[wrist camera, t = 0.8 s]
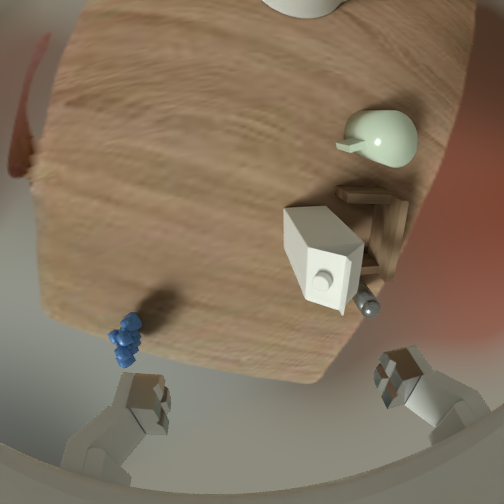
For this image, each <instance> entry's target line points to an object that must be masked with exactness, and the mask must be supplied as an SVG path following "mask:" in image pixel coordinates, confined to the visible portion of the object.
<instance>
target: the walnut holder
mask: <svg viewBox="0 0 504 504" xmlns="http://www.w3.org/2000/svg"><path fill="white" fill-rule="evenodd" d="M335 195H337V196H338V197H339V198H341V199H342V200H343V201H345V202H346V203H356V204H375V207H374V215H373V222H372V229H371V235H370V241H369V247H368V253H363V258H362V266H361V272H360V275H366V274H378V275H379V276H380V277H381V278H382V279H383V280H384V282H392V281H393V278H394V274H395V270H396V266H397V261H398V257H399V253H400V248H401V243H402V238H403V233H404V228H405V223H406V217H407V211H408V205H409V201H408V200H406V199H404V198H402V197H401V196H399V195H397V194H395V193H393V192H391V191H389V190H387V189H385V188H379V187H357V186H336V194H335Z"/></svg>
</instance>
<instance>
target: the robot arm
mask: <svg viewBox="0 0 504 504" xmlns="http://www.w3.org/2000/svg"><path fill="white" fill-rule="evenodd" d="M262 1H263V2H265V3H266V4H267V5H268V6H270V7H271V8H273V9H275V10H277V11H279V12H281V13H283V14H286V15H290V16H293V17H299V18H317V17H322V16H325V15H327V14H329V13H331V12H333V11H334V10H335V9H336V8H337V7H338V6H339V4H341V3H342V2H344V1H348V0H262ZM379 361H380V364H379V365H378V366H377V367H376V369H375V371H374V381H375V385H376V387H377V388H378V390H380V391H382V392H383V393H382V396H381V397H382V399H383V401H384V403H385V405H386V407H387V409H390V408H393V407H396V406H400V405H403V404H405V406H407V407H408V408H409V409H411V410H412V411H414V412H415V413H416V414H417V415H419V416H420V417H421V418H423V419H424V420H426V421H427V422H428V423H430V424H431V425H432V426H434V427H435V429H434V430H433V431H432V432H431V434H430V435H429V437H428V439H429V441H430V443H431V446H430V447H428V448H426V449H424V450H422V451H420V452H417V453H415V454H413V455H410V456H408V457H406V458H403V459H400V460H398V461H395V462H393V463H390V464H387V465H385V466H382V467H379V468H376V469H373V470H370V471H366V472H363V473H360V474H356V475H353V476H349V477H345V478H342V479H338V480H334V481H330V482H325V483H320V484H315V485H310V486H305V487H299V488H292V489H285V490H278V491H269V492H259V493H246V494H245V493H244V494H188V493H173V492H164V491H155V490H148V489H141V488H135V487H130V485H131V476H130V475H129V474H128V473H127V472H126V471H125V470H124V469H123V468H122V467H121V465H122V463H123V462H124V461H125V460H126V459H127V457H128V456H129V455H130V454H131V453H132V452H133V450H134V449H135V448H136V447H137V445H138V444H139V443H140V442H141V441H142V439H143V438H144V437H145V436H146V434H152V435H167V433H168V425H169V420H168V418H167V414H168V413H169V412H170V409H171V397H170V392H169V389H168V388H167V387H165V379H164V376H163V375H155V374H140V373H126V372H124V373H123V374H122V375H121V377H120V380H119V383H118V387H117V390H116V393H115V396H114V400H113V403H112V406H108V407H106V408H105V409H104V410H103V411H102V412H101V413H100V414H98V415H97V416H96V417H95V418H93V419H92V420H91V421H90V422H89V423H88V424H86V425H85V426H84V427H83V428H82V429H80V431H78V432H77V433H76V434H74V435H73V436H72V437H71V438H70V439H69V440H68V442H67V445H66V448H65V452H64V455H63V459H62V462H61V465H60V468H58V467H55V466H52V465H49V464H46V463H44V462H41V461H39V460H36V459H34V458H32V457H29V456H27V455H25V454H23V453H20V452H18V451H16V450H14V449H12V448H10V447H8V446H6V445H4V444H2V443H1V442H0V504H504V403H503V404H502V405H501V406H499V407H498V408H496V409H495V410H493V411H492V412H491V410H490V409H489V407H488V406H487V404H486V403H485V401H484V400H483V398H482V397H481V395H480V394H479V392H478V391H477V390H475V389H473V388H471V387H469V386H467V385H465V384H463V383H461V382H459V381H457V380H455V379H453V378H451V377H449V376H447V375H445V374H443V373H441V372H439V371H437V370H436V371H434V370H433V369H432V367H431V366H430V364H429V363H428V361H427V360H426V359H425V357H424V356H423V354H422V353H421V352H420V350H419V349H418V347H417V346H415V345H412V346H408V347H405V348H400V349H396V350H392V351H388V352H384V353H382V355H380V358H379Z"/></svg>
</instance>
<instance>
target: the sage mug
mask: <svg viewBox="0 0 504 504" xmlns="http://www.w3.org/2000/svg"><path fill="white" fill-rule="evenodd" d="M345 139H346V140H343V141H339V142H336V146H337V149H340V150H343V151H347V152H350V153H352V152H354V153H355V154H356V155H358V156H361V157H363V158H367V159H370V160H373V161H375V162H378V163H381V164H384V165H387V166H390V167H402V166H404V165H406V164H407V163H409V162H410V161H411V160H412V158H413V157H414V155H415V153H416V150H417V146H418V135H417V131H416V128H415V126H414V124H413V122H412V121H411V119H410V118H409V117H408V116H407V115H405V114H404V113H402V112H400V111H396V110H362V111H358V112H356V113H354V114H353V115H352V116H351V117H350V118H349V119H348V121H347V123H346V126H345Z"/></svg>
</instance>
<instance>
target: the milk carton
mask: <svg viewBox="0 0 504 504" xmlns="http://www.w3.org/2000/svg"><path fill="white" fill-rule="evenodd" d="M284 249H285V251H286V254H287V256H288V258H289V261H290V263H291V265H292V268H293V270H294V273H295V275H296V277H297V280H298V282H299V285H300V287H301V289H302V292H303V294H304V297H305V299H306V300H309V301H312V302H315V303H318V304H321V305H324V306H327V307H330V308H333V309H337V310H339V311H340V313H341V315H344V310H345V305H346V304H347V303H348V302H349V301H350V300H351V299H352V298H353V296H354V295H355V294H356V293H357V290H358V285H359V279H360V272H361V266H362V258H363V251H364V242H363V241H362V240H361V239H360V238H359V237H358V236H357V235H356V234H355V233H354V232H353V231H352V230H351V229H350V228H349V227H348V226H347V225H346V224H345V223H344V222H342V221H341V220H340V219H339V218H338V217H337V216H336V215H335V214H334V213H333V212H332V211H331V210H330V209H329V208H328V207H326V206H309V207H291V208H284Z"/></svg>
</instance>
